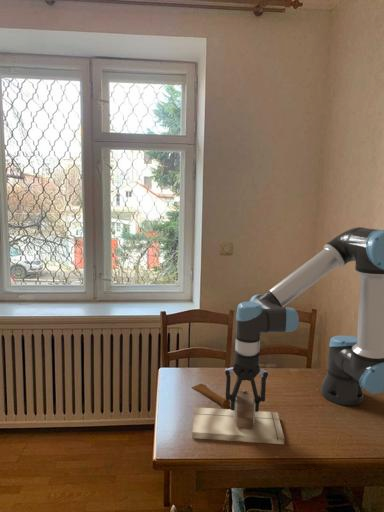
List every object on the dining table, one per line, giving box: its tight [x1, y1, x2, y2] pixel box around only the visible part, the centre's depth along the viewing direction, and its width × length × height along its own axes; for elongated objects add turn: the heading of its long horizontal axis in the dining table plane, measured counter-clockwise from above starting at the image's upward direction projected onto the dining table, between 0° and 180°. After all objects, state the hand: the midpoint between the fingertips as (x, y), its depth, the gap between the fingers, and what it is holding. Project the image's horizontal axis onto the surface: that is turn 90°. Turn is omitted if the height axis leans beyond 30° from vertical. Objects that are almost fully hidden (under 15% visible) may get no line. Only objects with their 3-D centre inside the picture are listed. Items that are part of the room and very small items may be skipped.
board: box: [191, 406, 285, 445], centre depth 124 cm, size 28×14×2 cm, turn 86°
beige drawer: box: [236, 389, 254, 428], centre depth 123 cm, size 5×8×9 cm, turn 176°
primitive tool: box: [191, 383, 231, 409], centre depth 143 cm, size 19×6×4 cm, turn 37°
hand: (244, 419), depth 124 cm, fingers closed on beige drawer, 5 cm apart
